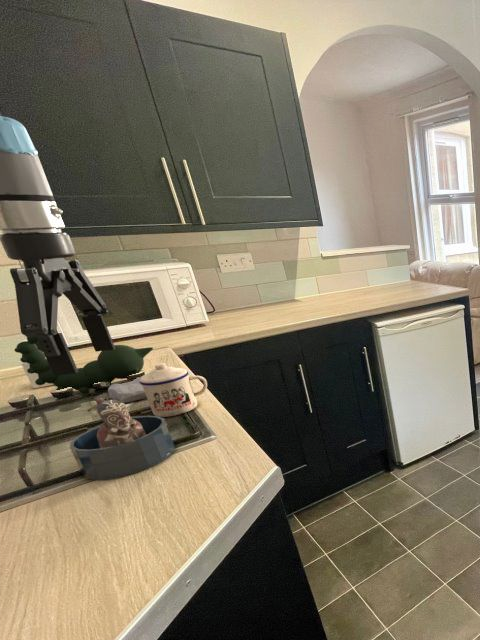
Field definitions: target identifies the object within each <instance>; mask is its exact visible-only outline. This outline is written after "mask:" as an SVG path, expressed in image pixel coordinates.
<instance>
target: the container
mask: <svg viewBox="0 0 480 640" xmlns="http://www.w3.org/2000/svg"><path fill="white" fill-rule="evenodd" d="M24 341H28V340H27V338H26V339H23V340H21V341H19V343H20V342H24ZM19 343H18V344H19ZM35 344H36V345H37V348H38V350H40V351H42V352H43V350H42V348H41V346H40V344H39V342H38V343H35ZM43 353H44V352H43ZM45 358H46V357H45ZM20 365H21V366H22V368H23V371H24V372H25V374H26V376H27V378H28V381H29V382H30V385H31V387H32V388H33V389H39V388H45V387H49V386H50V387H51V386H55V385H54V384H52V383H46V382H45V384H44V385H37V384H36V383H35V381H36V380H37V379H38V378H39V377H38V374H37V373H33V374H31V373H28V372H27V370H28V369H29V368H30V367H29V365H30V364H29V363H25V362H22V361H21V363H20Z"/></svg>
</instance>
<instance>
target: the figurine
mask: <svg viewBox="0 0 480 640" xmlns="http://www.w3.org/2000/svg"><path fill="white" fill-rule="evenodd" d="M95 401H96V404H97V409H96V411H97V414H98V416H99V417H100V419H101V420H102V422H103V423H102V424H101V425H100V428H99V430H98V433H97V438H98V442H99V446H100V448H107V447H111V446H116V445H120V444H123V443H126V442H129V441H133V440H136V439H138V438H140V437H143V436H145V435H146V433H145V431H144V429H143V427H142V425H141V424H140V423H139V422H138V421H137V420H135V419H132V418H133V417H131V414H130V412H129V411H128V409H127V407H126V404H125V403H121V402H120V401H117V400H114V399H108V400H105V399H104V398H98V399H96V400H95Z"/></svg>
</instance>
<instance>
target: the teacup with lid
mask: <svg viewBox="0 0 480 640" xmlns="http://www.w3.org/2000/svg"><path fill="white" fill-rule="evenodd" d="M143 375H144V376H143ZM143 375H142V377H141V378H140V384H142V386H143V389H144V391H145V394H146V397H147V398H146V399H147V402H148V404H149V407H150V409H151V411H152V414H153V416H159V417H161V418H169V417H175V416H178V415H183V414H185V413H188V412H190V411H192V410H194V409H195V408H196V407H197V406H198V401H197V398H196V397H198V396H201V395H203V394H204V393H205V392H206V390H207V388H208V381H207V379H206V377H203V376H201V375H192V376H189V372H188V371H187V369H186V368H183V367H173V366H167V364H166V363H164V362H162V363H157V364H155V365H154V369H152V370H150V371H149V372H148V373H145V374H143ZM193 380H199V381H202V382H203V386H202V388H201V390H199V391H197V392H194V389H193V386H192V384H191V381H193Z"/></svg>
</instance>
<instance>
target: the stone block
mask: <svg viewBox="0 0 480 640" xmlns="http://www.w3.org/2000/svg"><path fill="white" fill-rule="evenodd" d="M144 375H145V374H143V375H142V376H144ZM142 376H141V377H142ZM141 377H137V378H136V379H134V380H133V381H131V382H130V381H127V382H124V383H113V384H111V386H110V387H109V388H107V394H108V396H109V398H110V399H111V400H117V401H119V402H121V403H124V404H125V403H126V404H128V403H130V402H136V401H139V400H144V399H147V397H146V394H145V391H144V389H143V386H142V384H140V378H141Z"/></svg>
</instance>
